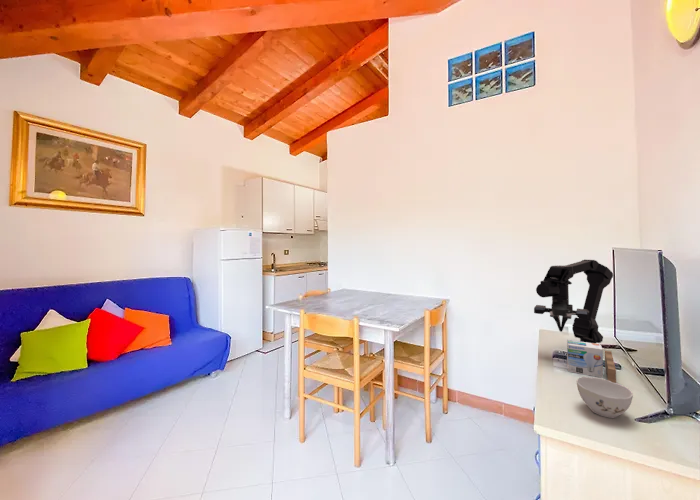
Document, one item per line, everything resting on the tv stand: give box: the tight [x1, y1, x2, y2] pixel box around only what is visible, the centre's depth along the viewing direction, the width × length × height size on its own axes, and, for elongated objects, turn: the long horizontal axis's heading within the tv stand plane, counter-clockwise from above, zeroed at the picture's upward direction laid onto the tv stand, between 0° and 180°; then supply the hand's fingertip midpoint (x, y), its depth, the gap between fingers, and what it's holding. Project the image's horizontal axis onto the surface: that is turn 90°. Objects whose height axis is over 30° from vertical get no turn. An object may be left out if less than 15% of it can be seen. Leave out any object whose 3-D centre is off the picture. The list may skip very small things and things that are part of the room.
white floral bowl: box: [576, 376, 634, 419], centre depth 86 cm, size 15×12×8 cm
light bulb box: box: [566, 339, 604, 379], centre depth 111 cm, size 11×7×11 cm, turn 55°
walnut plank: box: [604, 350, 617, 383], centre depth 107 cm, size 20×2×6 cm, turn 141°
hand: (561, 331), depth 123 cm, fingers closed
